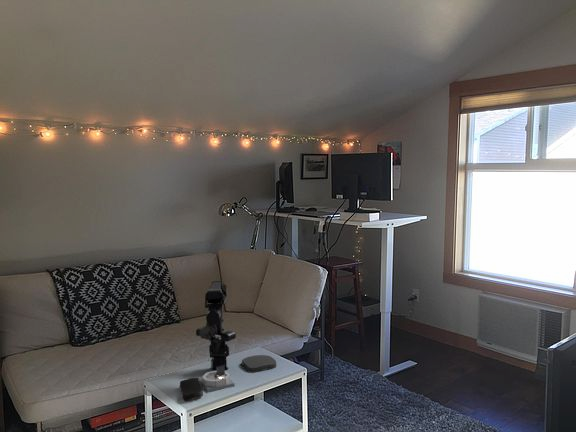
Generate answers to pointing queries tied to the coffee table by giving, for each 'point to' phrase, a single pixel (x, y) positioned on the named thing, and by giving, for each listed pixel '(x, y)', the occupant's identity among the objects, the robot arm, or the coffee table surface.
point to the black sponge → (191, 389)
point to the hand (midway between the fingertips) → (216, 352)
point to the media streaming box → (259, 363)
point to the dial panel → (216, 382)
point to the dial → (219, 373)
